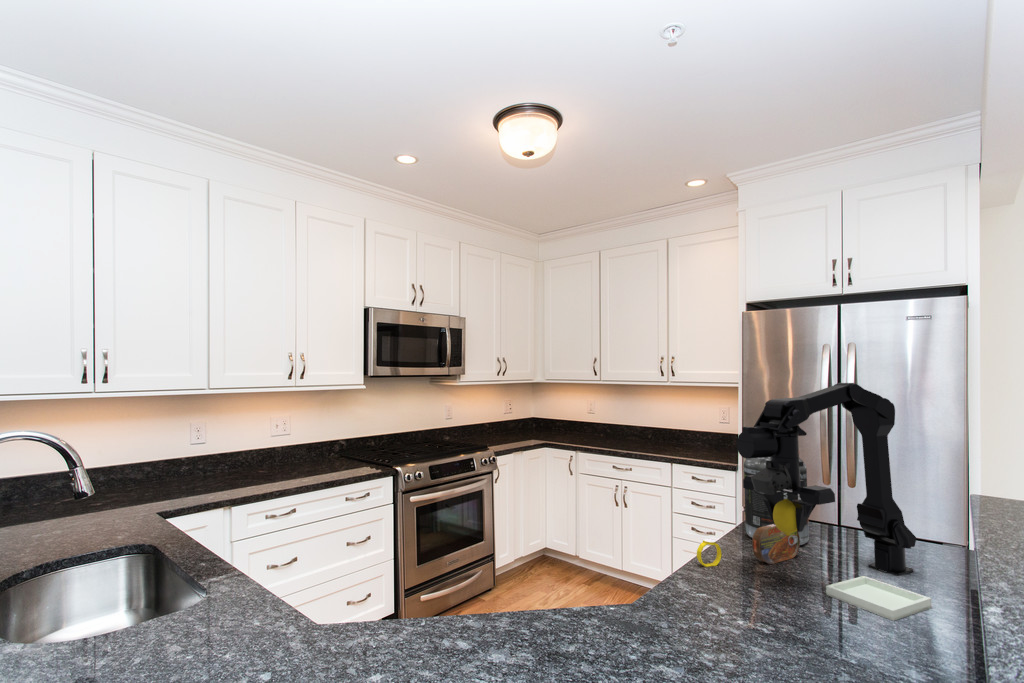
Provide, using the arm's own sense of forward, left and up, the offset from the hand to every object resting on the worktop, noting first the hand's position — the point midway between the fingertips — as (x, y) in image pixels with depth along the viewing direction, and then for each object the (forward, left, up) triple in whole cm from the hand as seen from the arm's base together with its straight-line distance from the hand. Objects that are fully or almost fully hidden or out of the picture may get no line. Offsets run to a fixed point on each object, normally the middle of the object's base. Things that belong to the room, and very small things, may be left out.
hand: (787, 528), depth 114 cm
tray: (-7, +14, -11) cm, 19 cm away
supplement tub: (-24, -22, -12) cm, 34 cm away
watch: (+8, -15, -12) cm, 20 cm away
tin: (-10, -11, -12) cm, 18 cm away
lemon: (0, 0, -2) cm, 2 cm away
